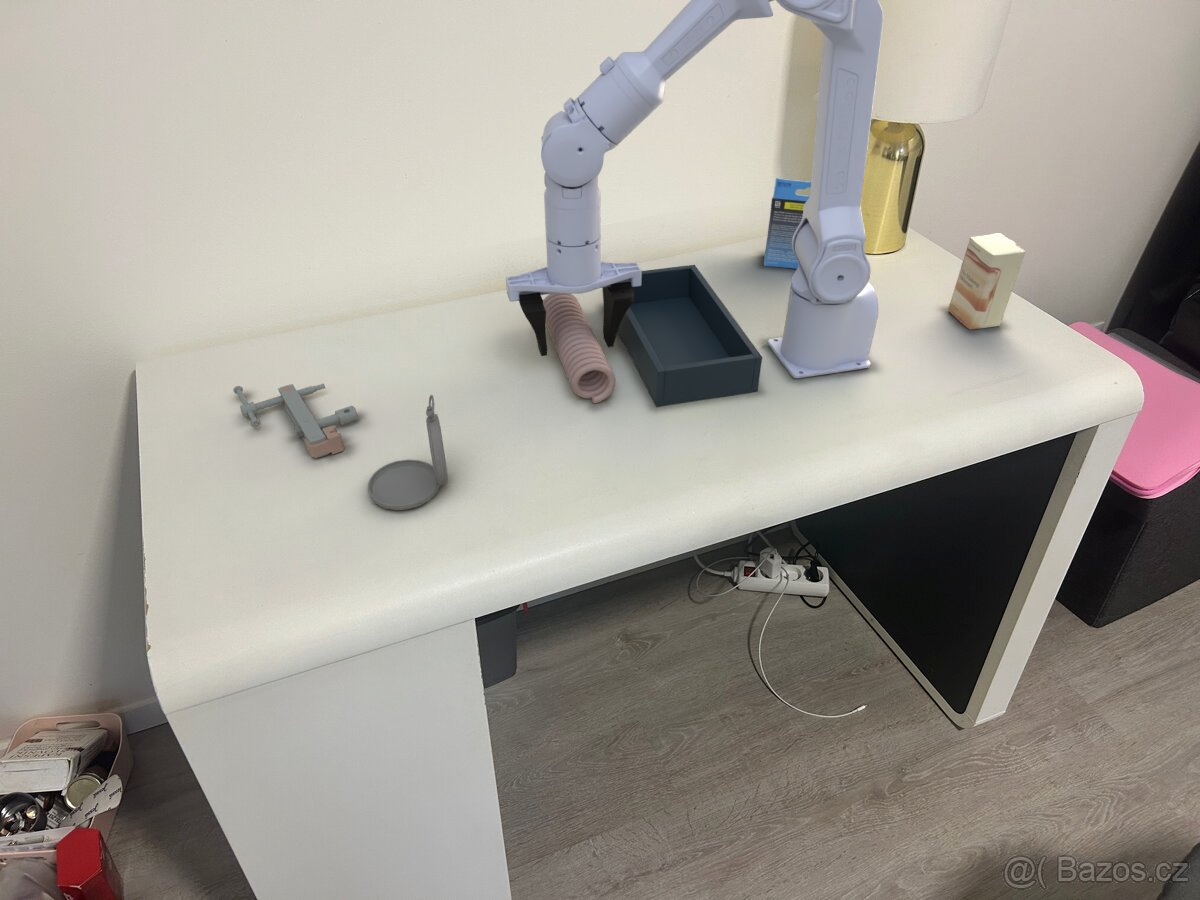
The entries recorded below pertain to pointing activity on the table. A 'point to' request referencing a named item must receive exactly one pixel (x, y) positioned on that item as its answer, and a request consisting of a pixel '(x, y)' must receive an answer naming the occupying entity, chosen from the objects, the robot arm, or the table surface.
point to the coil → (578, 348)
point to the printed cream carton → (986, 280)
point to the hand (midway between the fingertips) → (575, 347)
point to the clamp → (304, 418)
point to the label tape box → (784, 222)
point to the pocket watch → (412, 474)
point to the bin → (687, 339)
